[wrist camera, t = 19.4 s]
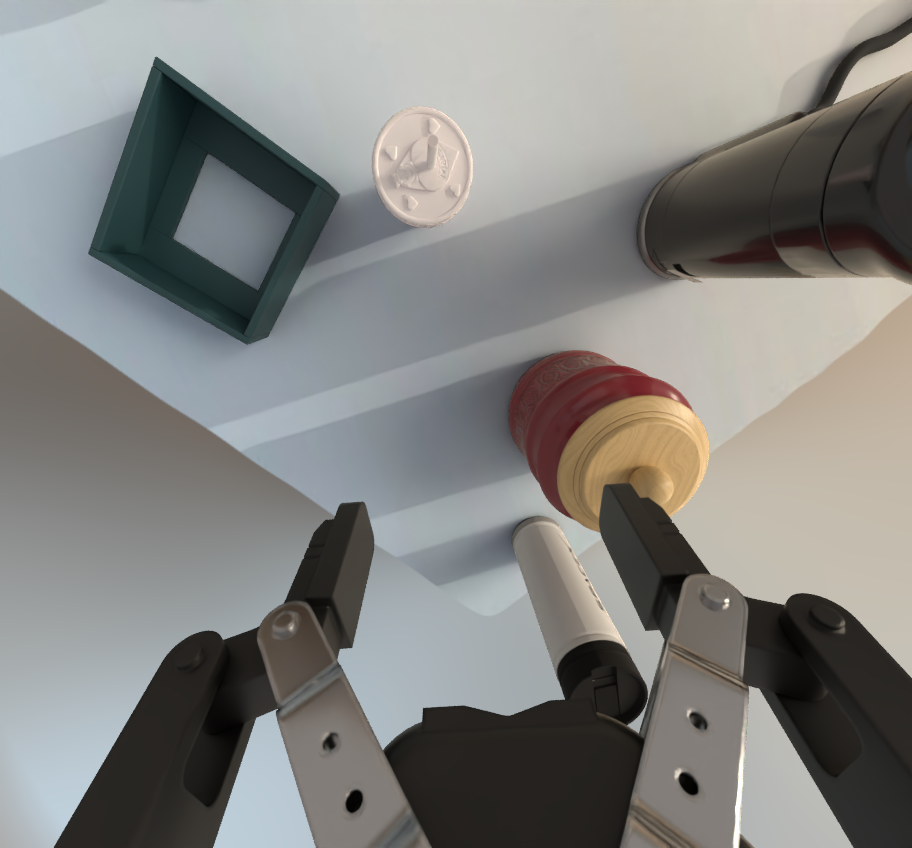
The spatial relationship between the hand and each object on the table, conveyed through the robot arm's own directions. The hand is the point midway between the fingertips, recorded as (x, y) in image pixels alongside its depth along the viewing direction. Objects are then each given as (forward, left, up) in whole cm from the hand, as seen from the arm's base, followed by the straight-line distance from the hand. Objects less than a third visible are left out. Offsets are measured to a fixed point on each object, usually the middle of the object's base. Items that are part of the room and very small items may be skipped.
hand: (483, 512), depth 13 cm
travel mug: (+12, +22, -27) cm, 37 cm away
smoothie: (-11, -9, -27) cm, 30 cm away
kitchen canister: (-3, +14, -27) cm, 30 cm away
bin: (0, -21, -27) cm, 34 cm away
